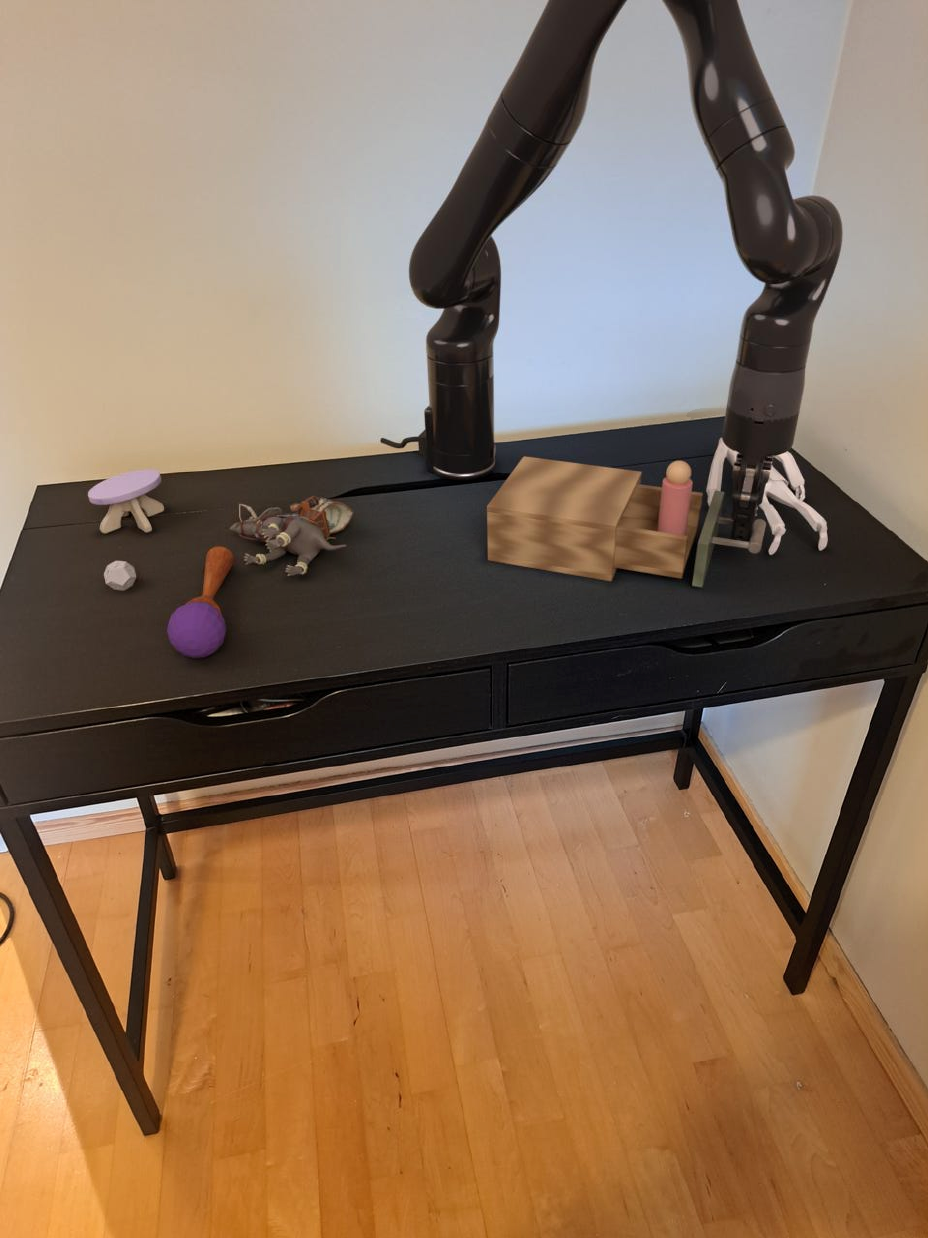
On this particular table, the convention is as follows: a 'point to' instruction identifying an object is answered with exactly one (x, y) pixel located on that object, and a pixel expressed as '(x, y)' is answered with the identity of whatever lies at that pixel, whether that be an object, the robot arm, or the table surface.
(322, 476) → the table surface
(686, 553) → the drawer
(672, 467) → the pink game pawn
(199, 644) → the purple maraca
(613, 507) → the cabinet
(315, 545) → the figurine
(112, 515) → the toy table
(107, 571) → the game die
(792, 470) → the male figurine
